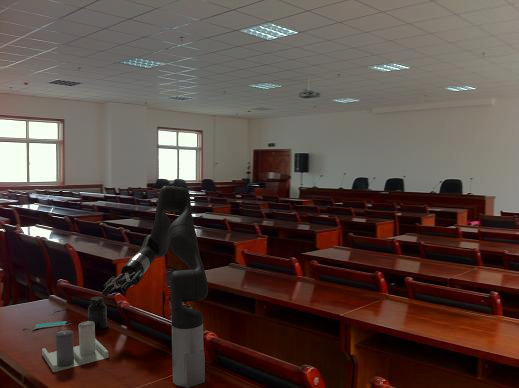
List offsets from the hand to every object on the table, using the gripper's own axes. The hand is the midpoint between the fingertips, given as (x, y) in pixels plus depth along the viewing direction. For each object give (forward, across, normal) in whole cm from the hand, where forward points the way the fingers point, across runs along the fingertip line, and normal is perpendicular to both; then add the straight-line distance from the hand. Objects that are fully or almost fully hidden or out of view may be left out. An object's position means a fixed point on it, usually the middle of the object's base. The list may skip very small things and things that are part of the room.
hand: (112, 292), depth 159 cm
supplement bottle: (-7, -23, +18) cm, 30 cm away
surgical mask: (-4, -42, +12) cm, 43 cm away
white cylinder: (+14, -8, +12) cm, 21 cm away
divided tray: (+18, -11, +12) cm, 24 cm away
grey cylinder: (+23, -9, +9) cm, 26 cm away
